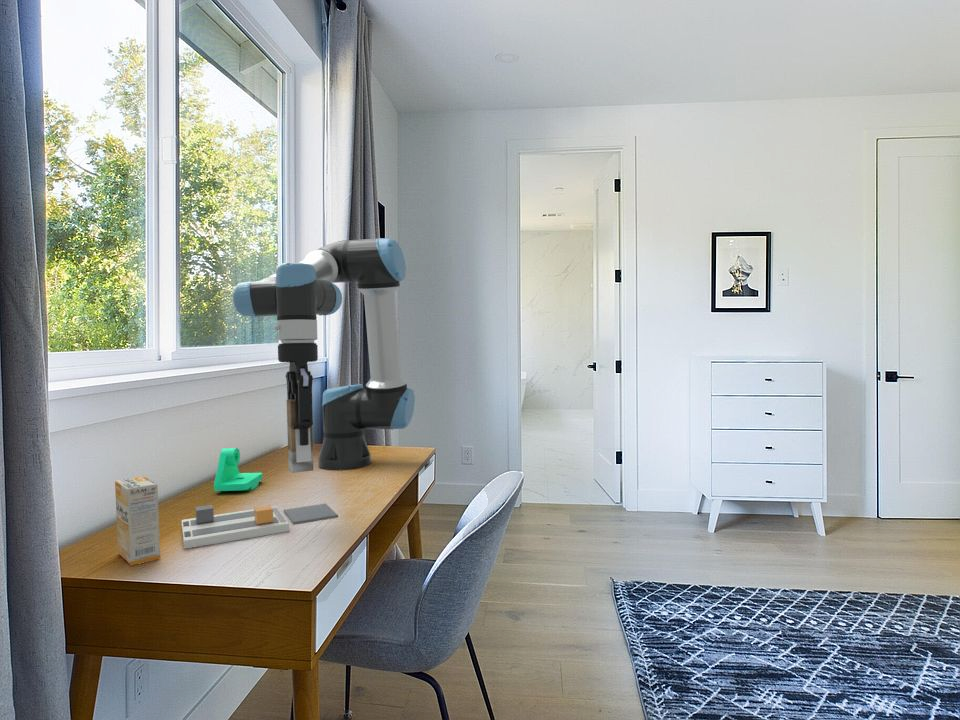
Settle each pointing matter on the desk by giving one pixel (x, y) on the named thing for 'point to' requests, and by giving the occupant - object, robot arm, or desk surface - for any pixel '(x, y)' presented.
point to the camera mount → (233, 473)
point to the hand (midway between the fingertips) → (301, 459)
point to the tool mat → (310, 513)
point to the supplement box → (137, 520)
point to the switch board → (230, 528)
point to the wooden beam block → (291, 422)
